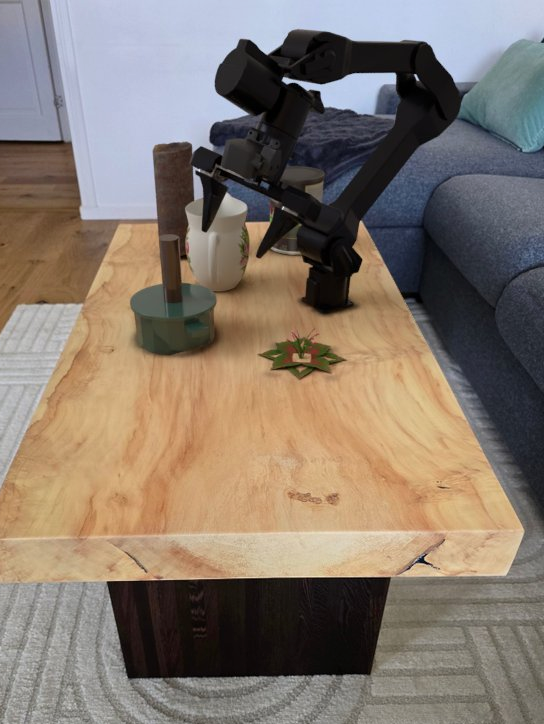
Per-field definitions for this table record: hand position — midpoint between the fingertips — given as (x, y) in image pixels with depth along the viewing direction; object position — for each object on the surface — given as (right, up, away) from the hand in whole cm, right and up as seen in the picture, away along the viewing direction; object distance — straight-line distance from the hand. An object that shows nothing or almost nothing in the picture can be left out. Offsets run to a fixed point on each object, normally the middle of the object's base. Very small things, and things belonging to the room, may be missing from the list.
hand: (230, 244), depth 89 cm
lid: (-8, -7, +4) cm, 12 cm away
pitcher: (-3, 0, +23) cm, 23 cm away
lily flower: (+10, -16, +1) cm, 19 cm away
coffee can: (+12, +12, +39) cm, 43 cm away
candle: (-11, +9, +36) cm, 38 cm away
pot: (-8, -12, +7) cm, 16 cm away
